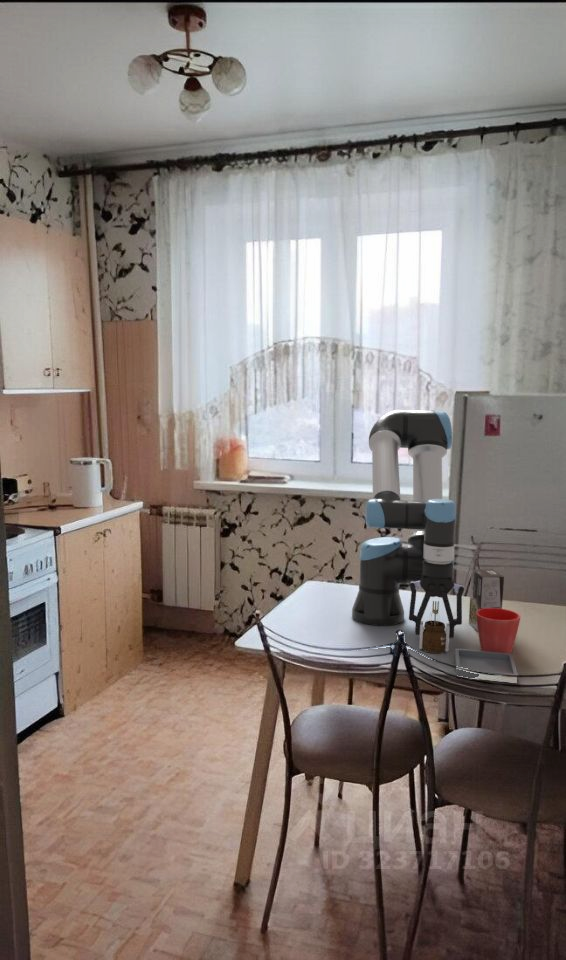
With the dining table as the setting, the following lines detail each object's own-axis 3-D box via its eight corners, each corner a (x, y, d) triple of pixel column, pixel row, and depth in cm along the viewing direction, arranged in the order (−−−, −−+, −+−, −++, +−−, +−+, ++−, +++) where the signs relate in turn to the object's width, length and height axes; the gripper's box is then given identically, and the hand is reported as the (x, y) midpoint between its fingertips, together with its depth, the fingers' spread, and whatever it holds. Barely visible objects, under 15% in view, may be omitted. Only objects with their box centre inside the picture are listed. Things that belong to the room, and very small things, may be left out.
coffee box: (501, 633, 192) (505, 576, 190) (478, 633, 192) (482, 576, 190) (489, 622, 201) (492, 568, 199) (467, 622, 201) (470, 568, 199)
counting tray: (456, 677, 162) (456, 669, 161) (454, 656, 175) (455, 648, 175) (517, 684, 159) (518, 675, 159) (511, 661, 172) (511, 653, 172)
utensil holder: (421, 652, 177) (423, 607, 175) (422, 644, 183) (424, 599, 181) (445, 655, 175) (447, 609, 174) (445, 646, 181) (447, 601, 180)
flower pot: (470, 641, 186) (472, 606, 184) (513, 643, 185) (515, 608, 183) (477, 656, 175) (479, 619, 174) (522, 658, 174) (525, 621, 173)
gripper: (399, 561, 174) (395, 650, 177) (477, 566, 170) (472, 657, 173) (401, 554, 182) (397, 639, 185) (475, 559, 178) (470, 646, 181)
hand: (433, 648), depth 179 cm, fingers closed on utensil holder, 6 cm apart
